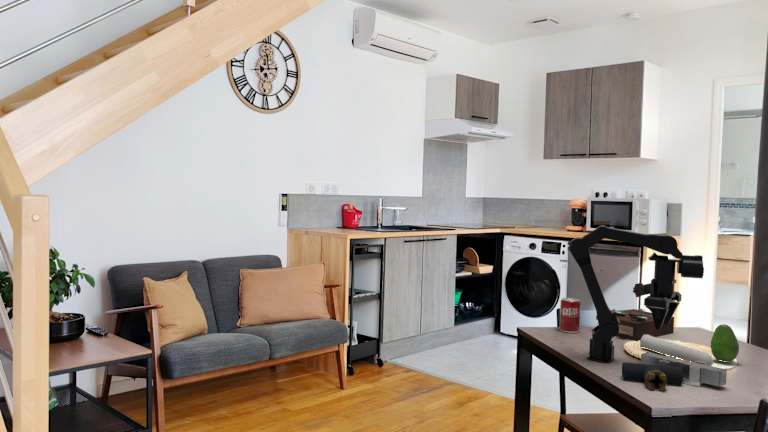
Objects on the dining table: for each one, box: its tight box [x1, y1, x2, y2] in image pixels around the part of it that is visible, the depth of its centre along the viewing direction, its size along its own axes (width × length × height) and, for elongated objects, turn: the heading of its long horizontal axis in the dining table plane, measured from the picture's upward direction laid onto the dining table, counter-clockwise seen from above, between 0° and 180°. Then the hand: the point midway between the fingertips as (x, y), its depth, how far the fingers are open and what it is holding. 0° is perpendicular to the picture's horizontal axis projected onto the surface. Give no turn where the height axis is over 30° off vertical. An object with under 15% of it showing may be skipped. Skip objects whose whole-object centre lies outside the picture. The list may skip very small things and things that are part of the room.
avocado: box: [710, 324, 740, 362], centre depth 196 cm, size 8×8×12 cm
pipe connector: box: [621, 361, 683, 392], centre depth 170 cm, size 12×5×15 cm
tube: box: [639, 335, 714, 366], centre depth 199 cm, size 5×5×25 cm
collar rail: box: [659, 356, 706, 387], centre depth 176 cm, size 11×8×5 cm
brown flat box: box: [595, 308, 675, 342], centre depth 235 cm, size 19×8×30 cm
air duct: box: [640, 351, 728, 388], centre depth 176 cm, size 22×4×4 cm, turn 42°
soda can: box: [559, 297, 582, 334], centre depth 234 cm, size 7×7×12 cm
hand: (661, 327), depth 189 cm, fingers open, 9 cm apart
